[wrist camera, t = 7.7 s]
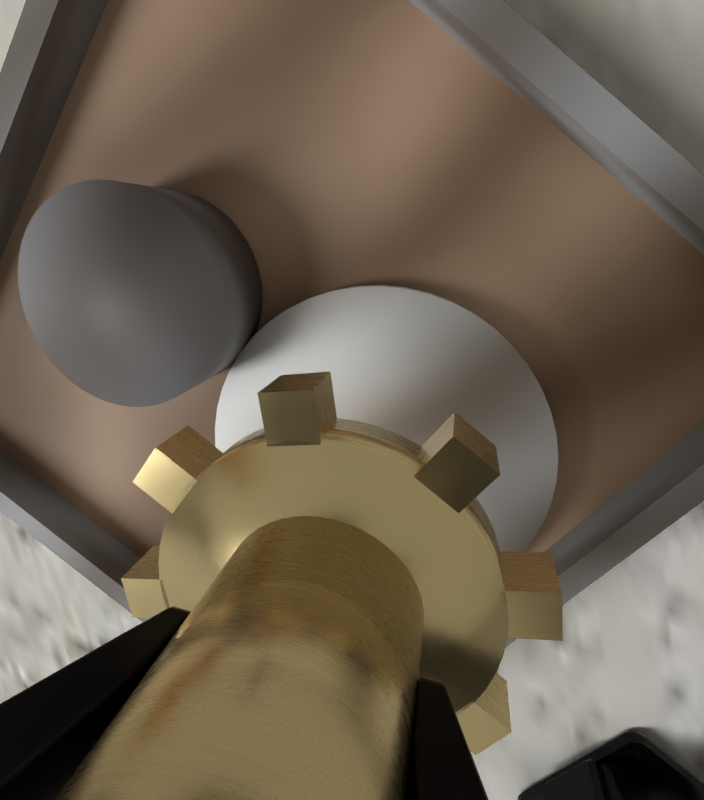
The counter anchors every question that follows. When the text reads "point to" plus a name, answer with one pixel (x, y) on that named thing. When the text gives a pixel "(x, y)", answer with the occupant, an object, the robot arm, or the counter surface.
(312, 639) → the gear
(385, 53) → the wooden serving tray
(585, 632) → the counter surface
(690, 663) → the counter surface
